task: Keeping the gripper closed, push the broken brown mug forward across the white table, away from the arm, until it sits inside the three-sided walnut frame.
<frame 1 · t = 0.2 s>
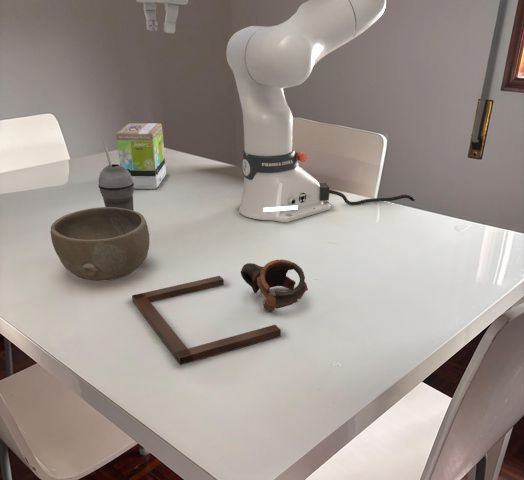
hand: (160, 31, 107), 39 cm above the table, tool pointing down, fingers open, 8 cm apart
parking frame: (203, 317, 92), on the table
broken brown mug: (273, 300, 97), on the table
beverage cup: (124, 238, 123), on the table
bowl: (107, 272, 108), on the table
tea box: (145, 182, 160), on the table
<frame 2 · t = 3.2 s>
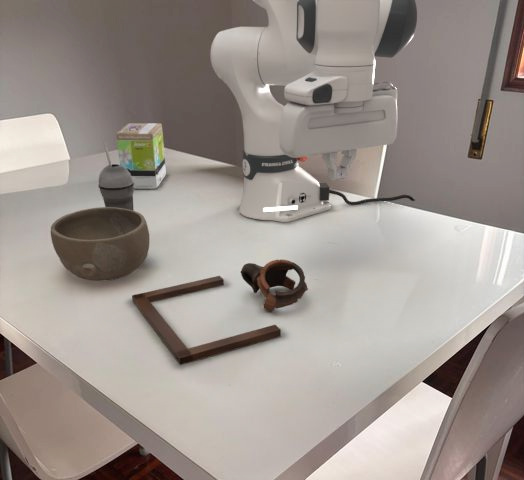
hand: (337, 178, 92), 19 cm above the table, tool pointing down, fingers closed
nothing on the table moved.
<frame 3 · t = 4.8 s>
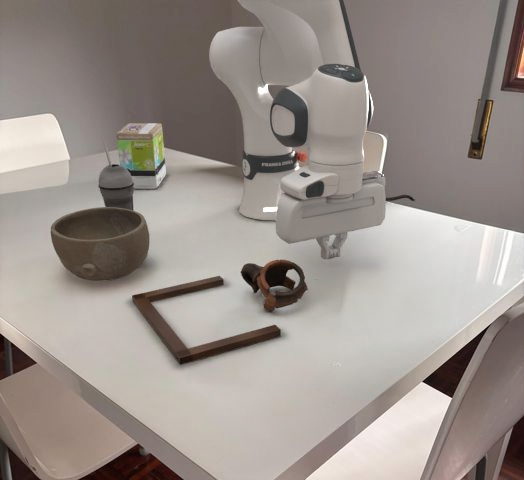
hand: (330, 257, 98), 6 cm above the table, tool pointing down, fingers closed
nothing on the table moved.
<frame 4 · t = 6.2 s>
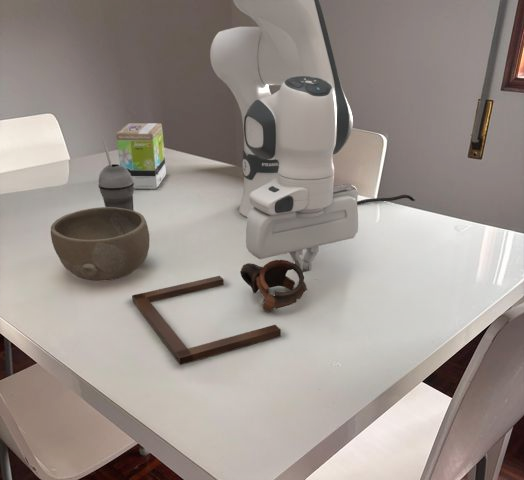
hand: (303, 271, 97), 4 cm above the table, tool pointing down, fingers closed
broken brown mug: (273, 300, 97), on the table, touching gripper
everything else where it was.
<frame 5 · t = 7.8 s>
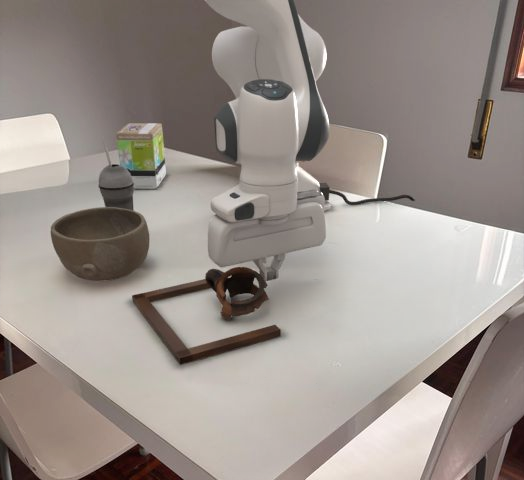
hand: (269, 279, 94), 4 cm above the table, tool pointing down, fingers closed
broken brown mug: (236, 308, 95), on the table, touching gripper
everything else where it was.
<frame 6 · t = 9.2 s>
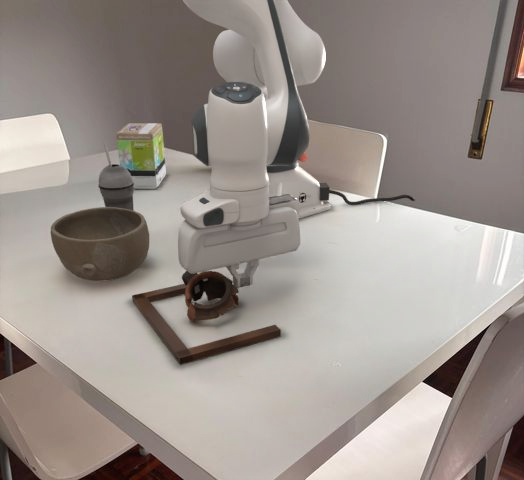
hand: (242, 285, 92), 4 cm above the table, tool pointing down, fingers closed
broken brown mug: (209, 312, 94), on the table, touching gripper
everything else where it was.
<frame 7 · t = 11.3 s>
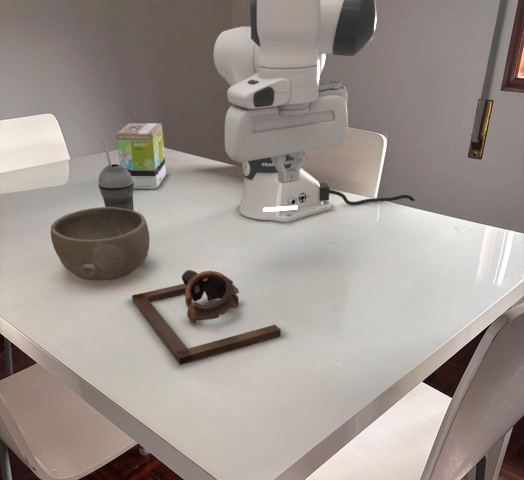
hand: (288, 181, 90), 19 cm above the table, tool pointing down, fingers closed
broken brown mug: (209, 312, 94), on the table
everything else where it was.
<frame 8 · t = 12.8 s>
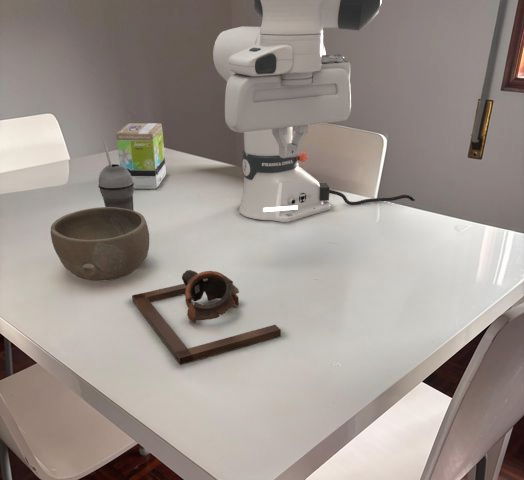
hand: (289, 156, 88), 23 cm above the table, tool pointing down, fingers closed
nothing on the table moved.
at the end: broken brown mug inside the target area (2.7 cm from its centre), on the table; broken brown mug moved 11.4 cm from its start; broken brown mug tilted 0° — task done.
